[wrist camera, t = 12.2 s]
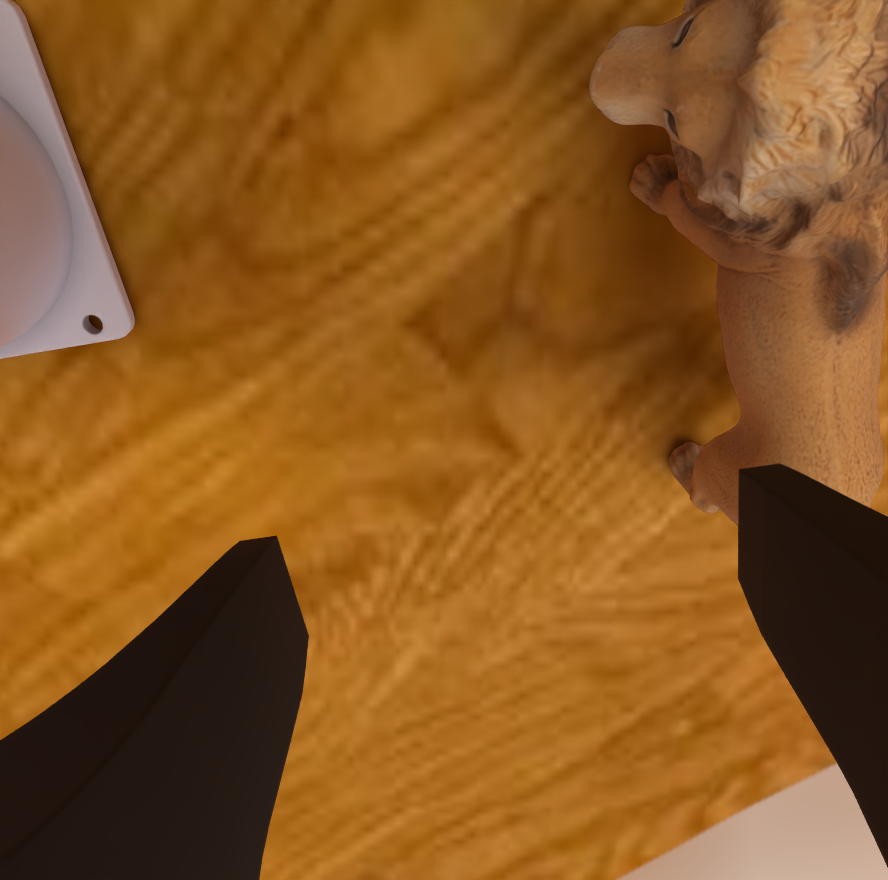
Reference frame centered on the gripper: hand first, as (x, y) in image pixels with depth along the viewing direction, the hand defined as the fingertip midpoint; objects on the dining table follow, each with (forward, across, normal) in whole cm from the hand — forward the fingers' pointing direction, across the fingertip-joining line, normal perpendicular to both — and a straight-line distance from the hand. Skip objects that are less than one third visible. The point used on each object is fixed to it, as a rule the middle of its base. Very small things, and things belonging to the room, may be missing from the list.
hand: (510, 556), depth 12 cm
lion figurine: (+10, -6, -1) cm, 12 cm away
